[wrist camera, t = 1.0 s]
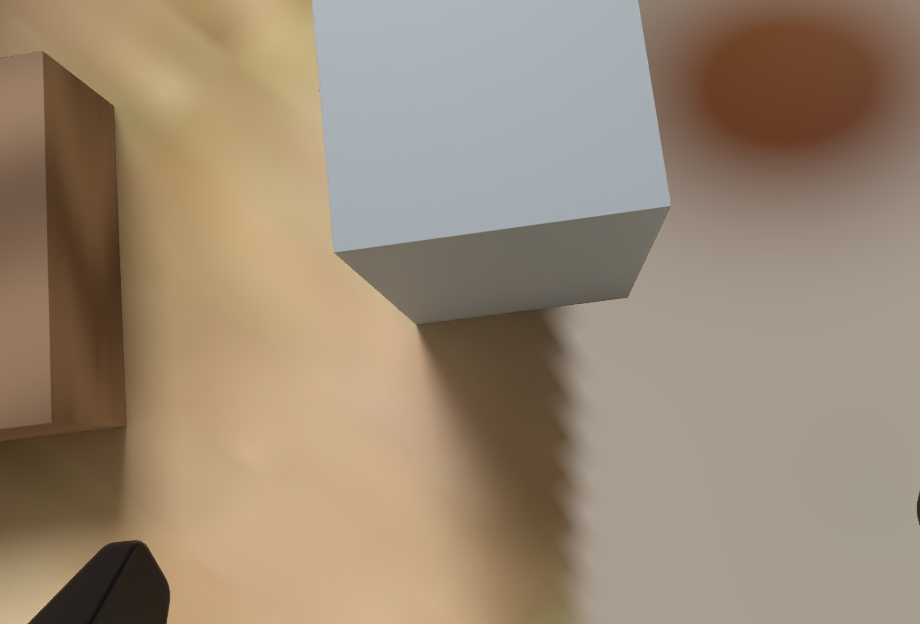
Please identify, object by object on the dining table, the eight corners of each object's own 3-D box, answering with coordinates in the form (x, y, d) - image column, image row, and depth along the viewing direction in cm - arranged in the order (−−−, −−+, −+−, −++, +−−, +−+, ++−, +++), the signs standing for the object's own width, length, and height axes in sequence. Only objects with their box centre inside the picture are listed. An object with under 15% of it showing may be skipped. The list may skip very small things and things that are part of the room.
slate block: (627, 297, 23) (671, 205, 14) (416, 324, 24) (333, 251, 15) (597, 97, 24) (621, -104, 15) (396, 127, 25) (307, -50, 16)
